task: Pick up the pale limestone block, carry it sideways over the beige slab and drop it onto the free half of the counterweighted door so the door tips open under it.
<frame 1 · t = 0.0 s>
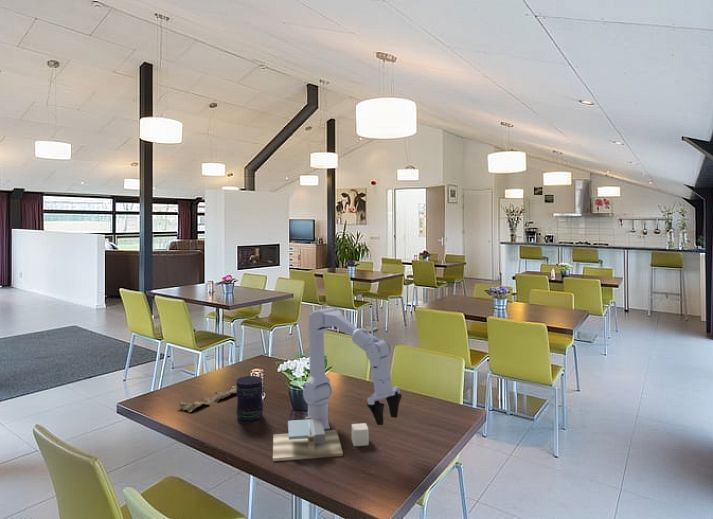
hand: (387, 420, 150), 11 cm above the table, tool pointing down, fingers open, 7 cm apart
storage jar: (250, 418, 178), on the table
limestone block: (359, 442, 158), on the table
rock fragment: (217, 399, 199), on the table
beige slab: (306, 446, 155), on the table
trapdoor: (305, 431, 154), point 5 cm above the table, hinge at 0.0°
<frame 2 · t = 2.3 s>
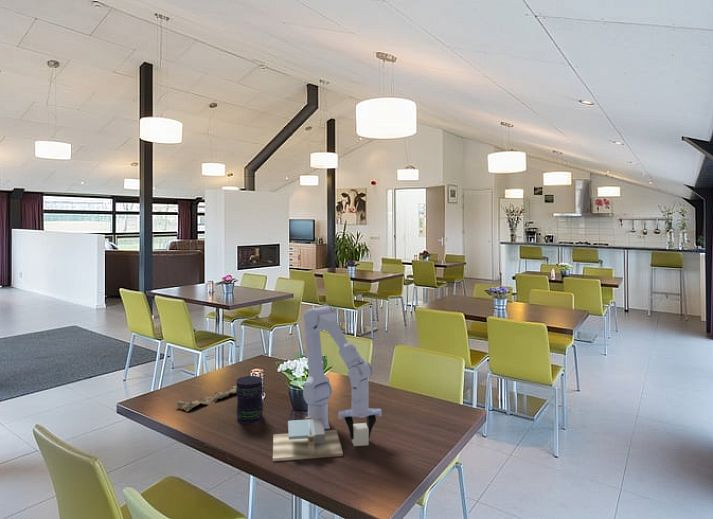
hand: (359, 437, 158), 2 cm above the table, tool pointing down, fingers closed on limestone block, 5 cm apart
limestone block: (359, 442, 158), on the table, touching gripper
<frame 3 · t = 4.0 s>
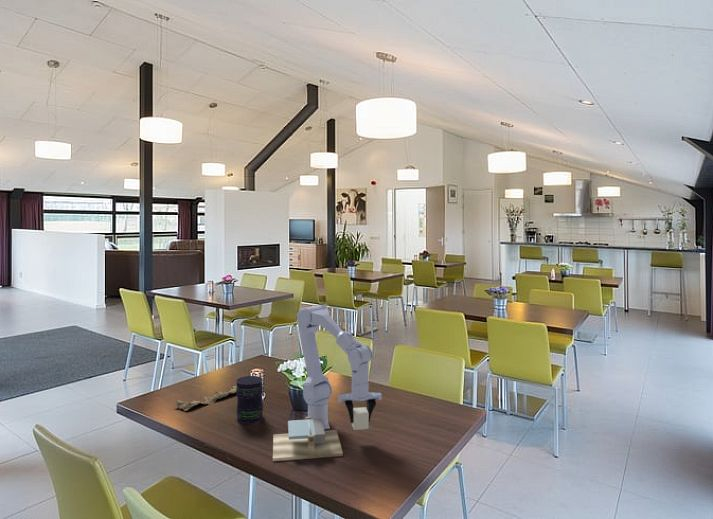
hand: (359, 421, 157), 7 cm above the table, tool pointing down, fingers closed on limestone block, 5 cm apart
limestone block: (359, 426, 157), point 6 cm above the table, touching gripper
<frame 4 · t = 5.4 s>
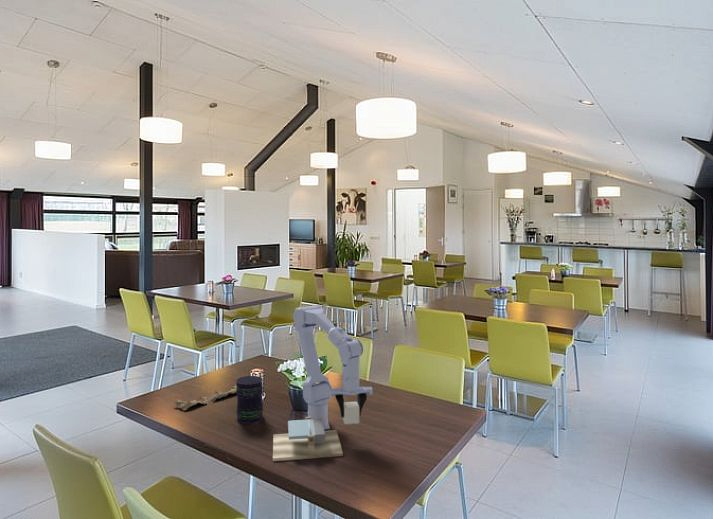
hand: (350, 415, 157), 9 cm above the table, tool pointing down, fingers closed on limestone block, 5 cm apart
limestone block: (350, 420, 157), point 8 cm above the table, touching gripper
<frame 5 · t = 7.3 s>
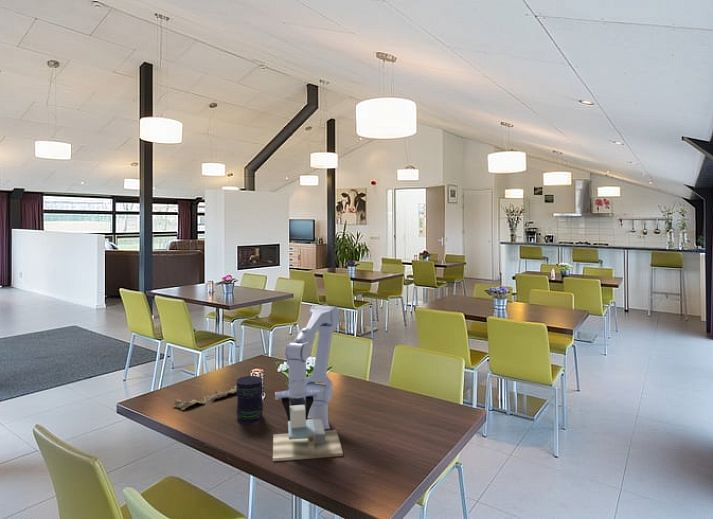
hand: (297, 419, 154), 9 cm above the table, tool pointing down, fingers closed on limestone block, 5 cm apart
limestone block: (297, 424, 154), point 8 cm above the table, touching gripper
when the fingers open (9 cm above the table, at t = 8.6 s): limestone block drops 2 cm, resting on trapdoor.
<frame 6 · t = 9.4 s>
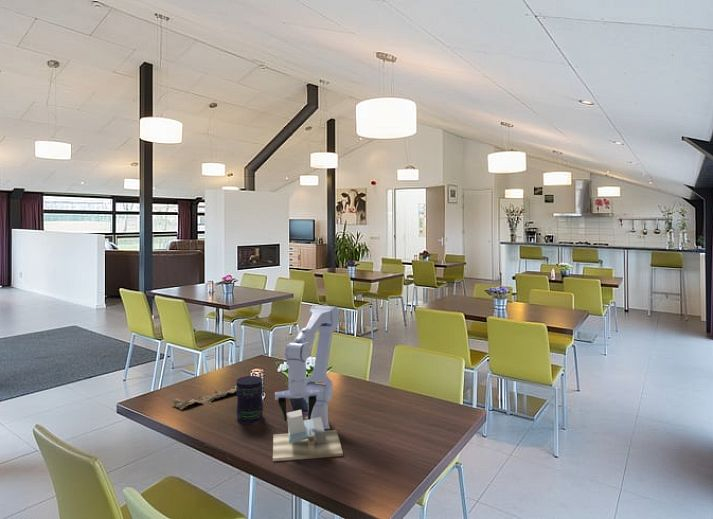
hand: (297, 419, 154), 9 cm above the table, tool pointing down, fingers open, 7 cm apart
limestone block: (297, 429, 154), point 6 cm above the table, tilted 10°, touching gripper, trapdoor
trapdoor: (306, 432, 155), point 5 cm above the table, hinge at -10.0°, touching limestone block
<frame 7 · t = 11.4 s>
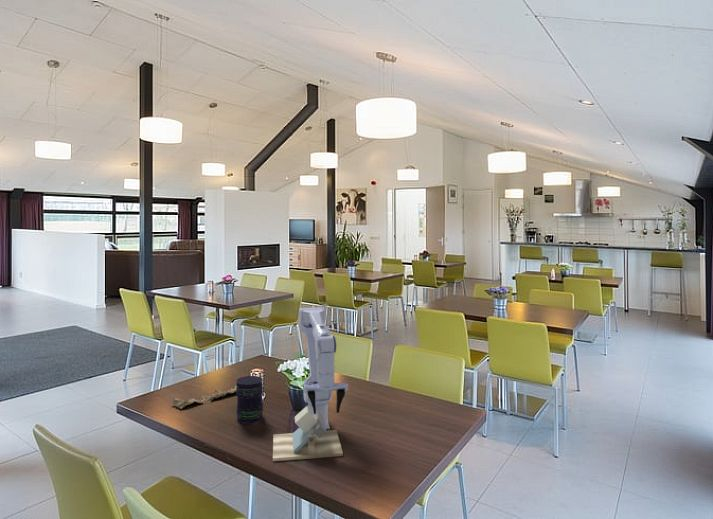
hand: (326, 412, 156), 11 cm above the table, tool pointing down, fingers open, 7 cm apart
limestone block: (299, 425, 154), point 7 cm above the table, tilted 49°, touching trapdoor
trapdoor: (308, 432, 155), point 4 cm above the table, hinge at -41.4°, touching beige slab, limestone block
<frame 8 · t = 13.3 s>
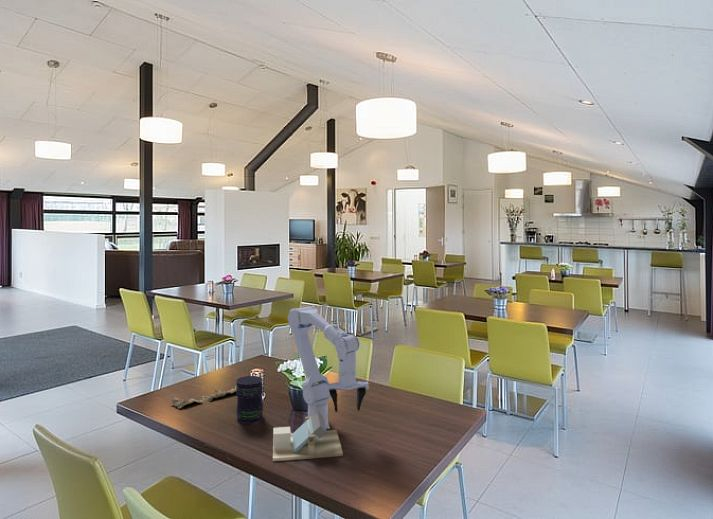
hand: (347, 410, 159), 10 cm above the table, tool pointing down, fingers open, 7 cm apart
limestone block: (290, 437, 154), point 3 cm above the table, tilted 90°, touching beige slab
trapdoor: (308, 432, 155), point 4 cm above the table, hinge at -41.4°, touching beige slab
at the end: limestone block point 3.5 cm above the table; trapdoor at -41° (first picture: +0°); limestone block inside the target area on the beige slab (0.1 cm from its centre), point 3.5 cm above the beige slab's base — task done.
